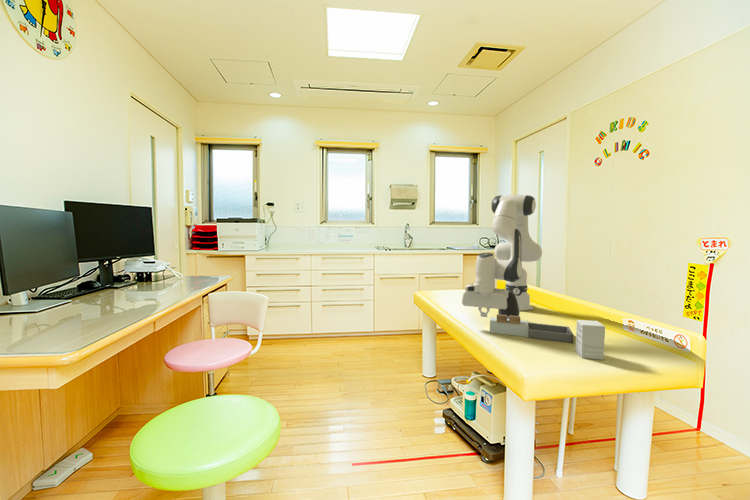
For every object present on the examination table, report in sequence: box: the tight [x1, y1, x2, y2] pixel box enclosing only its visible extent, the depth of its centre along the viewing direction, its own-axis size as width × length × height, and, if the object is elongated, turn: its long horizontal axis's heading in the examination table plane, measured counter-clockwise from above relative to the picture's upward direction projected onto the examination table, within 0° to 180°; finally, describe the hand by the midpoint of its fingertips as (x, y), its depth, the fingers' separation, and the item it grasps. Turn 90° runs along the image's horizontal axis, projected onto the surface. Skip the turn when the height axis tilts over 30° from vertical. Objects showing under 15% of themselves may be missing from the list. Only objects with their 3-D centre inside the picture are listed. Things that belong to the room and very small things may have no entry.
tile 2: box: [509, 315, 521, 324], centre depth 150 cm, size 4×4×2 cm
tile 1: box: [496, 313, 507, 323], centre depth 152 cm, size 4×4×2 cm
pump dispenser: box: [497, 291, 520, 319], centre depth 168 cm, size 10×10×15 cm
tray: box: [527, 322, 574, 344], centre depth 145 cm, size 12×17×4 cm
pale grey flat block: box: [489, 316, 529, 338], centre depth 151 cm, size 10×16×4 cm, turn 68°
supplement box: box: [575, 319, 606, 361], centre depth 123 cm, size 7×7×13 cm
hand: (483, 316), depth 155 cm, fingers closed
